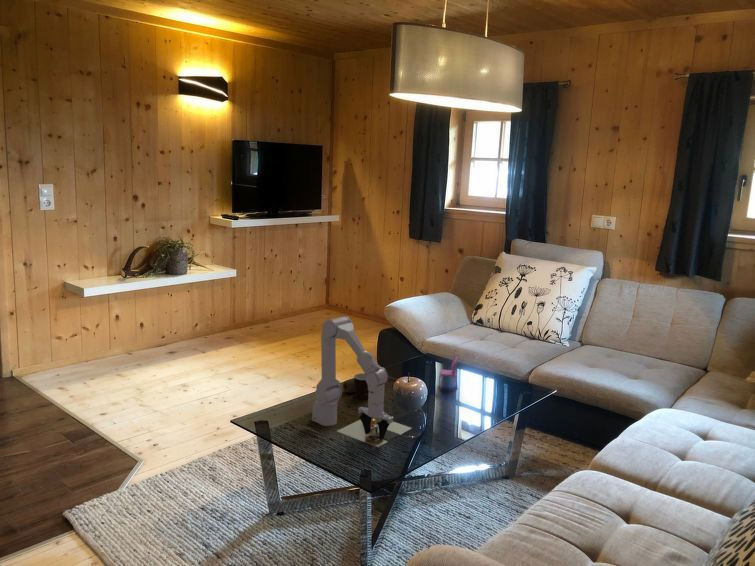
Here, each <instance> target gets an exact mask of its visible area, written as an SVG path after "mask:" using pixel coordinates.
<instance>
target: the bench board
mask: <svg viewBox="0 0 755 566" xmlns="http://www.w3.org/2000/svg"><path fill="white" fill-rule="evenodd" d="M412 429H413V428H412V427H410V426H407V425H405V424H401V423H399V422H395V421H393V422H392V423H390V425H389V426H388V428H387V430H389V431H392V432H395V433H398V434H400V435H399V436H401V435H403V434H405V433H406V432H408V431H409V430H412ZM336 432H337V433H340V434H343V435H345V436H347V437H350V438H353V439H355V440H359V441H361V442H363V443H365V444H368V445H371V446H374V447H376V448H380V447H381V446H383V445H385V444H386V443H388V442H389V441H387V440H384V439H383V441H382V442H380V443H379V444H377V445H374V444H371V443H368V442H366V441H365V437H367V436H369V435H371V431H370V433H368V434H365V431H364V427H363V424H362V422H361V420H360V419H359V420H356V421H354V422H352V423H350V424H348V425H346V426H344V427H342V428H339V429H337V430H336ZM378 432H379V427H378ZM394 439H395V438H393V439H392V440H394Z"/></svg>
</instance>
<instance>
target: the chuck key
mask: <svg viewBox="0 0 755 566" xmlns="http://www.w3.org/2000/svg"><path fill="white" fill-rule="evenodd" d="M371 430H372V431H371V439H373V440H377V439H378V425H372V428H371Z"/></svg>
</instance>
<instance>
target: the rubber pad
mask: <svg viewBox="0 0 755 566" xmlns="http://www.w3.org/2000/svg"><path fill="white" fill-rule="evenodd" d="M378 435H379V432H378ZM399 436H401V435H400V434H398V433H395V432H392V431H389V430H386V433H385V436H384V438H383V439H384V440H387V441H388V442H390V441H392V440H394V439H395V438H397V437H399ZM393 438H394V439H393Z"/></svg>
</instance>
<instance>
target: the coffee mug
mask: <svg viewBox="0 0 755 566" xmlns="http://www.w3.org/2000/svg"><path fill="white" fill-rule="evenodd" d="M366 377H367V376H366V374H365V373H364V372H362V373H356V374H354V375H353V378H354V384H355V398H356V399H359V400H368V395H369V390H368V384H367V382H366Z"/></svg>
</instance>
